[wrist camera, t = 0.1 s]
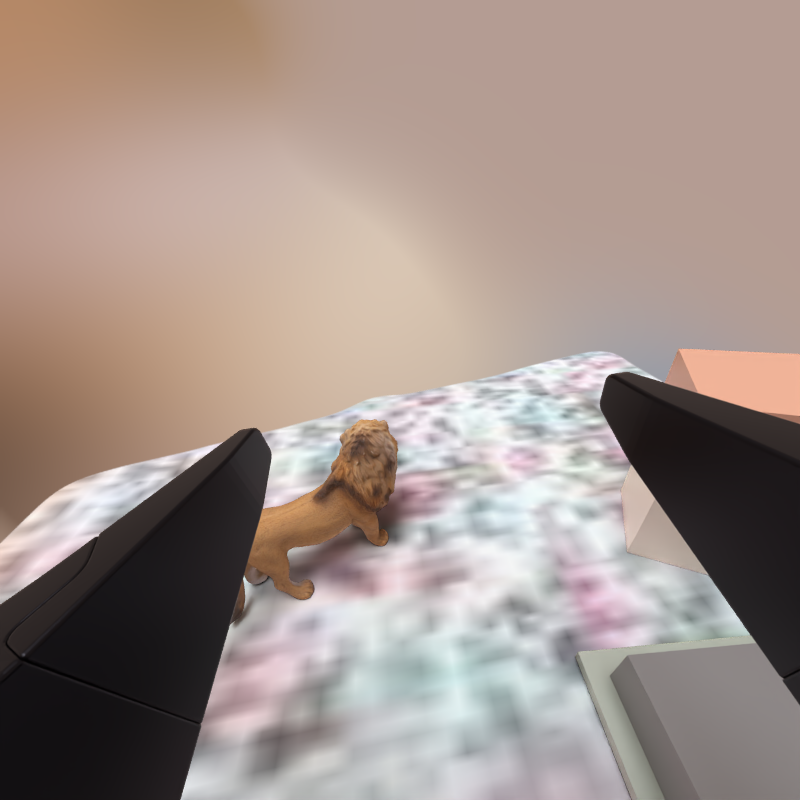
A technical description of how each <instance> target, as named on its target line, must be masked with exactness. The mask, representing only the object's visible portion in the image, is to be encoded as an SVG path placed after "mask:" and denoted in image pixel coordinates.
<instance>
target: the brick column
mask: <svg viewBox="0 0 800 800" xmlns="http://www.w3.org/2000/svg"><path fill="white" fill-rule="evenodd" d="M665 383H667V384H670V385H673V386H676V387H680V388H683V389H686V390H690V391H693V392H696V393H700V394H703V395H706V396H710V397H713V398H716V399H719V400H723V401H726V402H729V403H733V404H736V405H739V406H743V407H746V408H749V409H752V410H756V411H759V412H762V413H766V414H769V415H772V416H776V417H779V418H782V419H785V420H789V421H792V422H795V423H799V424H800V354H784V353H761V352H740V351H739V352H738V351H715V350H695V349H678V352H677V354H676V356H675V359H674V361H673V364H672V366H671V369H670V371H669V374H668V376H667V378H666V381H665ZM621 498H622V508H623V518H624V527H625V537H626V547H627V552H628V553H632V554H635V555H639V556H642V557H646V558H649V559H653V560H656V561H660V562H664V563H667V564H671V565H674V566H678V567H681V568H685V569H688V570H692V571H695V572H699V573H703V574H706V575H708V573H707V572H706V571H705V569H704V568H703V566H702V565H701V563H700V562H699V561H698V559H697V558H696V556H695V555H694V554H693V552H692V551H691V549H690V548H689V546H688V545H687V544H686V542H685V541H684V539H683V538H682V536H681V535H680V534H679V532H678V531H677V529H676V528H675V526H674V525H673V524H672V522H671V521H670V519H669V518H668V516H667V515H666V514H665V512H664V511H663V509H662V508H661V506H660V505H659V504H658V502H657V501H656V499H655V498H654V496H653V495H652V494H651V492H650V491H649V489H648V488H647V486H646V485H645V484H644V482H643V481H642V479H641V478H640V476H639V475H638V474H637V472H636V471H635V469H634V468H633V466H632V465H631V467H630V469H629V472H628V474H627V476H626V479H625V481H624V484H623V486H622V489H621Z"/></svg>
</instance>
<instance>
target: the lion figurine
mask: <svg viewBox="0 0 800 800" xmlns="http://www.w3.org/2000/svg"><path fill="white" fill-rule="evenodd" d="M340 441H341V443H342V447H341V449H340V453H339V456H338V457H337V459H336V460H335V461H334V462H333V463H332V466H331V470H332V473H331V474H330V475H329V477H328V478H327V480H326V481H325V483H324V484H322V485H321V486H320V487H318V488H317V489H315V490H313V491H312V492H310V493H308V494H305V495H303V496H301V497H300V498H298V499H297V500H295V501H292V502H290V503H287V504H285V505H282V506H278V507H271V508H265V509H262V513H261V517H260V521H259V524H258V528H257V531H256V535H255V538H254V542H253V545H252V549H251V552H250V556H249V559H248V563H247V566H246V570H245V573H244V575H245V578H246V579H247V581H248V582H249V583H251V584H259V583H262V582H263V581H265V580H266V579H267V577H268V576H270V577H271V578H272V579H273V581H274V585H275V588H276V589H278V590H280V591H283V592H286V593H288V594H290V595H292V596H293V597H295V598H297V599H307V598H309V597H310V596H311V595H312V593H313V591H314V587H313V583H312V582H311V580H308V579H306V580H303V581H301V582H297V583H296V582H293V581H291V580H290V578H289V560H288V557H287V552H288V551H289V550H290V549H292V548H294V547H303V546H310V545H316V544H320V543H322V542H325V541H327V540H330V539H331V538H333V537H335V536H337V535H338V534H339V533H341V532H342V531H343V530H345V529H346V528H347V527H348V526H349V525H350V524H352V525H353V526H357V527H359V528H361V529H362V530H363V531H364V533H365V535H366V536H367V539H368V540H369V541H370V542H372V543H373V544H374V545H377V546H383V545H385V544H386V543H387V541H388V533H387V532H386V531H385V530H384V529H381V530H379V523H378V518H377V514H376V512H378V511H379V510H381V508H382V507H384V506H385V505H387V503H388V500H389V496H390V495H391V494H392V493H393V492H394V484H395V478H396V470H397V451H398V447H397V441H396V440H395V438H394V437H393V436H392V435H390V433H389V430H388V424H387V422H386V421H385V420H382V421H380V422H379V421H377V420H375V419H374V420H371V421H370V420H360V421H358V422H357V423H356V424H355V425H353V426H352V428H351V429H347V430H346V431H345V432H344V433H343V434H342V435H341V436H340ZM244 604H245V589H244V582H243V580H242V584H241V587H240V591H239V594H238V598H237V602H236V605H235V609H234V612H233V616H232V619H231V623H233V622H234V621H235V620H237V619H238V618H239V617H240V616H241V614H242V611H243V609H244ZM231 623H230V624H231Z"/></svg>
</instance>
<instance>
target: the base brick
mask: <svg viewBox="0 0 800 800" xmlns="http://www.w3.org/2000/svg"><path fill="white" fill-rule="evenodd" d="M576 660H577V662H578V665H579V667H580V670H581V672H582V675H583V677H584V680H585V682H586V685H587V687H588V690H589V693H590V695H591V698H592V700H593V703H594V705H595V708H596V710H597V713H598V715H599V718H600V720H601V723H602V725H603V728H604V731H605V733H606V736H607V738H608V741H609V743H610V746H611V748H612V751H613V753H614V756H615V758H616V761H617V764H618V766H619V769H620V771H621V774H622V776H623V779H624V781H625V784H626V786H627V789H628V791H629V794H630V796H631V799H632V800H800V705H799V704H798V702H797V701H796V700H795V698H794V697H793V695H792V694H791V692H790V691H789V690H788V688H787V687H786V685H785V684H784V683H783V681H782V679H783V678H782V677H780V676H779V675H778V673H777V672H776V671H775V669H774V668H773V666H772V665H771V663H770V662H769V661H768V659H767V658H766V656H765V655H764V653H763V652H762V651H761V649H760V648H759V646H758V645H757V643H756V642H755V641H754V639H753V638H752V636H751V635H750V636H739V637H729V638H718V639H708V640H697V641H687V642H676V643H666V644H656V645H645V646H635V647H624V648H614V649H603V650H593V651H582V652H578V653H577V655H576Z"/></svg>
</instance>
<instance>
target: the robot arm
mask: <svg viewBox="0 0 800 800" xmlns="http://www.w3.org/2000/svg"><path fill="white" fill-rule="evenodd" d="M600 408H601V411H602V413H603V415H604V417H605V418H606V420H607V422H608V424H609V426H610V428H611V429H612V431H613V433H614V435H615V437H616V439H617V440H618V442H619V444H620V446H621V448H622V450H623V451H624V453H625V455H626V457H627V458H628V460H629V462H630V463H631V465H632V466H633V468H634V469H635V471H636V472H637V474H638V475H639V476H640V478H641V479H642V481H643V482H644V484H645V485H646V486H647V488H648V489H649V491H650V492H651V494H652V495H653V496H654V498H655V499H656V501H657V502H658V504H659V505H660V506H661V508H662V509H663V511H664V512H665V514H666V515H667V516H668V518H669V519H670V521H671V522H672V524H673V525H674V526H675V528H676V529H677V531H678V532H679V534H680V535H681V536H682V538H683V539H684V541H685V542H686V544H687V545H688V546H689V548H690V549H691V551H692V552H693V554H694V555H695V556H696V558H697V559H698V561H699V562H700V563H701V565H702V566H703V568H704V569H705V571H706V572H707V573H708V575H709V576H710V578H711V579H712V581H713V582H714V583H715V585H716V586H717V588H718V589H719V591H720V592H721V593H722V595H723V596H724V598H725V599H726V601H727V602H728V603H729V605H730V606H731V608H732V609H733V611H734V612H735V613H736V615H737V616H738V618H739V619H740V621H741V622H742V623H743V625H744V626H745V628H746V629H747V631H748V632H749V633H750V635H751V636H752V638H753V639H754V641H755V642H756V643H757V645H758V646H759V648H760V649H761V651H762V652H763V653H764V655H765V656H766V658H767V659H768V661H769V662H770V663H771V665H772V666H773V668H774V669H775V671H776V672H777V673H778V675H779V676H780V677H782V678H783V679H782V681H783V683H784V684H785V685H786V687H787V688H788V690H789V691H790V692H791V694H792V695H793V697H794V698H795V700H796V701H797V702H798V704H799V705H800V424H799V423H795V422H792V421H789V420H785V419H782V418H779V417H776V416H772V415H769V414H766V413H762V412H759V411H756V410H752V409H749V408H746V407H743V406H739V405H736V404H733V403H729V402H726V401H723V400H719V399H716V398H713V397H710V396H706V395H703V394H700V393H696V392H693V391H690V390H686V389H683V388H680V387H676V386H673V385H670V384H667V383H663V382H660V381H657V380H653V379H650V378H647V377H643V376H640V375H637V374H634V373H630V372H622V373H615V374H611V375H609V376H608V377H607V378H606V381H605V384H604V388H603V392H602V396H601V399H600ZM270 464H271V450H270V448H269V446H268V444H267V443H266V441H265V439H264V437H263V436H262V434H261V432H260V431H259V430H258V429H257V428H250V429H243V430H240V431H238V432H237V433H236V434H234V435H233V436H232V437H230V438H229V439H228V440H226V441H225V442H223V443H222V444H221V445H219V446H218V447H217V448H215V449H214V450H213V451H211V452H210V453H208V454H207V455H206V456H204V457H203V458H202V459H200V460H199V461H198V462H196V463H195V464H194V465H192V466H191V467H190V468H188V469H187V470H185V471H184V472H183V473H181V474H180V475H179V476H177V477H176V478H175V479H173V480H172V481H171V482H169V483H168V484H166V485H165V486H164V487H162V488H161V489H160V490H158V491H157V492H156V493H154V494H153V495H152V496H150V497H149V498H148V499H146V500H145V501H143V502H142V503H141V504H139V505H138V506H137V507H135V508H134V509H133V510H131V511H130V512H129V513H127V514H126V515H125V516H123V517H122V518H120V519H119V520H118V521H116V522H115V523H114V524H112V525H111V526H110V527H108V528H107V529H106V530H104V531H103V532H101V533H100V535H99V537H95V538H93V539H92V540H90V541H89V542H88V543H86V544H85V545H84V546H82V547H81V548H80V549H78V550H77V551H76V552H74V553H73V554H71V555H70V556H69V557H67V558H66V559H65V560H63V561H62V562H60V563H59V564H58V565H56V566H55V567H53V568H52V569H51V570H49V571H48V572H47V573H45V574H44V575H42V576H41V577H39V578H38V579H37V580H35V581H34V582H32V583H31V584H29V585H28V586H26V587H25V588H24V589H22V590H21V591H19V592H18V593H16V594H15V595H14V596H12V597H11V598H9V599H8V600H6V601H5V602H3V603H2V604H0V800H180V799H181V796H182V792H183V789H184V785H185V782H186V778H187V775H188V771H189V768H190V764H191V761H192V757H193V754H194V750H195V747H196V743H197V740H198V736H199V733H200V729H201V723H202V721H203V718H204V714H205V711H206V707H207V704H208V700H209V697H210V693H211V689H212V686H213V682H214V679H215V675H216V672H217V668H218V665H219V661H220V658H221V654H222V651H223V647H224V644H225V640H226V637H227V633H228V630H229V626H230V623H231V619H232V616H233V612H234V609H235V605H236V602H237V598H238V594H239V591H240V587H241V584H242V580H243V577H244V573H245V570H246V566H247V563H248V559H249V556H250V552H251V549H252V545H253V542H254V538H255V535H256V531H257V528H258V524H259V521H260V517H261V513H262V509H263V504H264V499H265V493H266V487H267V481H268V475H269V470H270Z"/></svg>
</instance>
